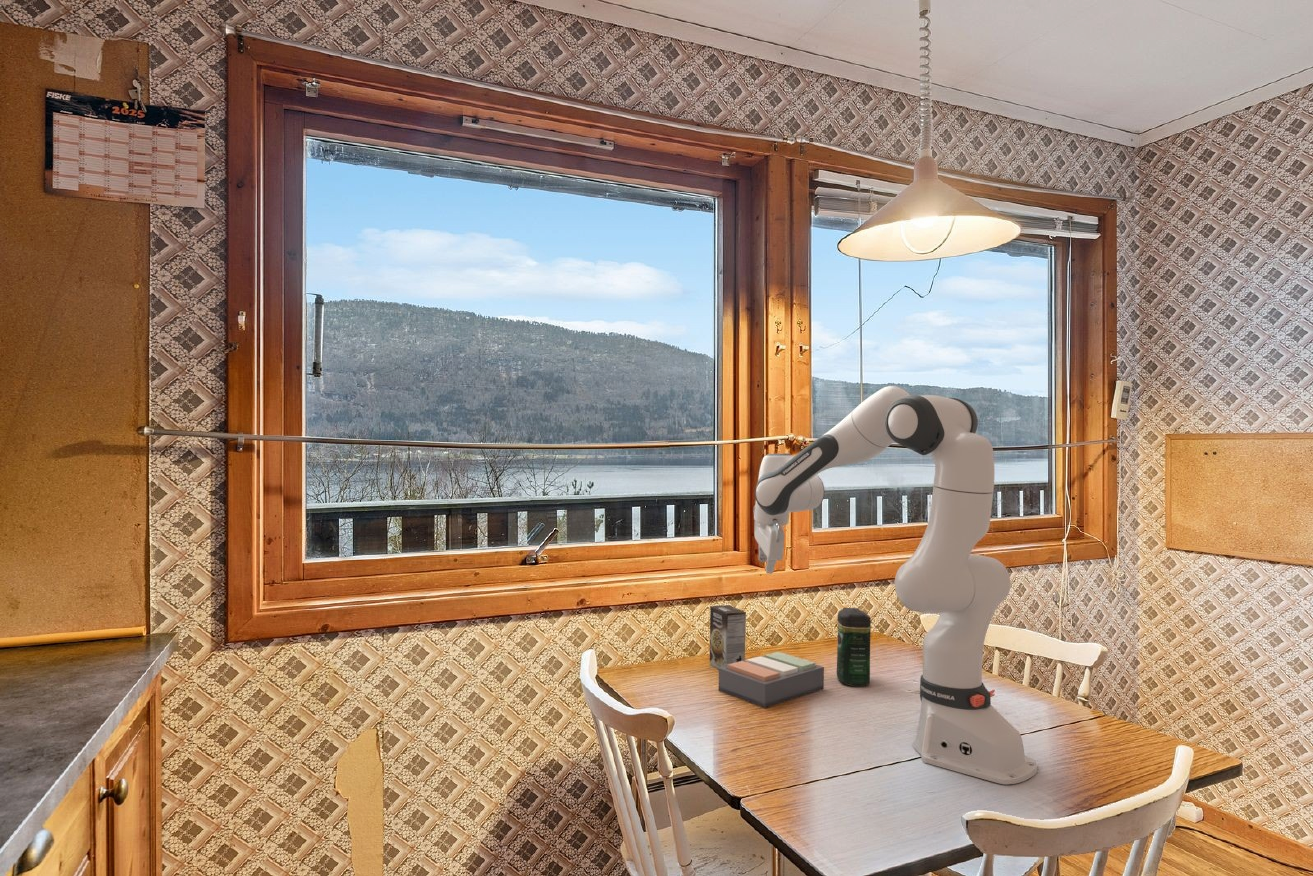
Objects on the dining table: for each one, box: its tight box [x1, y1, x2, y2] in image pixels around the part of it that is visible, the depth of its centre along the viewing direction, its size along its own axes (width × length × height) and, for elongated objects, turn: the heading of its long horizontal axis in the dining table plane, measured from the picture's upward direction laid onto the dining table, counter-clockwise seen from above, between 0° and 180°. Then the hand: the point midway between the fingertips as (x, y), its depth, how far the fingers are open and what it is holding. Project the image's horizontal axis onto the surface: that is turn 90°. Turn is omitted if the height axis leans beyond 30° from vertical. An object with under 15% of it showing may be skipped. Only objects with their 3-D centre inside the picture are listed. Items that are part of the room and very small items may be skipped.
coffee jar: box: [836, 607, 872, 687], centre depth 189 cm, size 10×8×19 cm
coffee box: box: [709, 604, 747, 670], centre depth 199 cm, size 9×6×16 cm
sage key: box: [764, 651, 816, 671], centre depth 186 cm, size 12×5×3 cm, turn 40°
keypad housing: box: [718, 655, 825, 709], centre depth 181 cm, size 15×22×6 cm
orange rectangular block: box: [727, 661, 779, 682], centre depth 177 cm, size 12×5×3 cm, turn 40°
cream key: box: [746, 655, 798, 676], centre depth 181 cm, size 12×5×3 cm, turn 40°
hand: (765, 566), depth 189 cm, fingers open, 8 cm apart
